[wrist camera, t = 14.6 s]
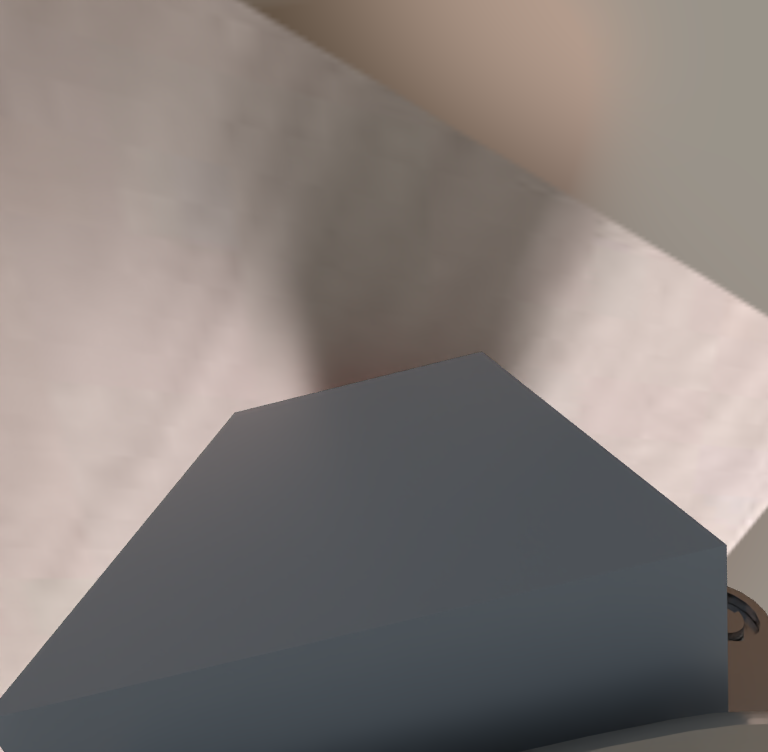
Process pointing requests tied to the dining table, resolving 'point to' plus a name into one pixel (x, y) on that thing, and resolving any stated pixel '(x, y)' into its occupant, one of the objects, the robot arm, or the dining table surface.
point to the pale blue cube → (389, 588)
